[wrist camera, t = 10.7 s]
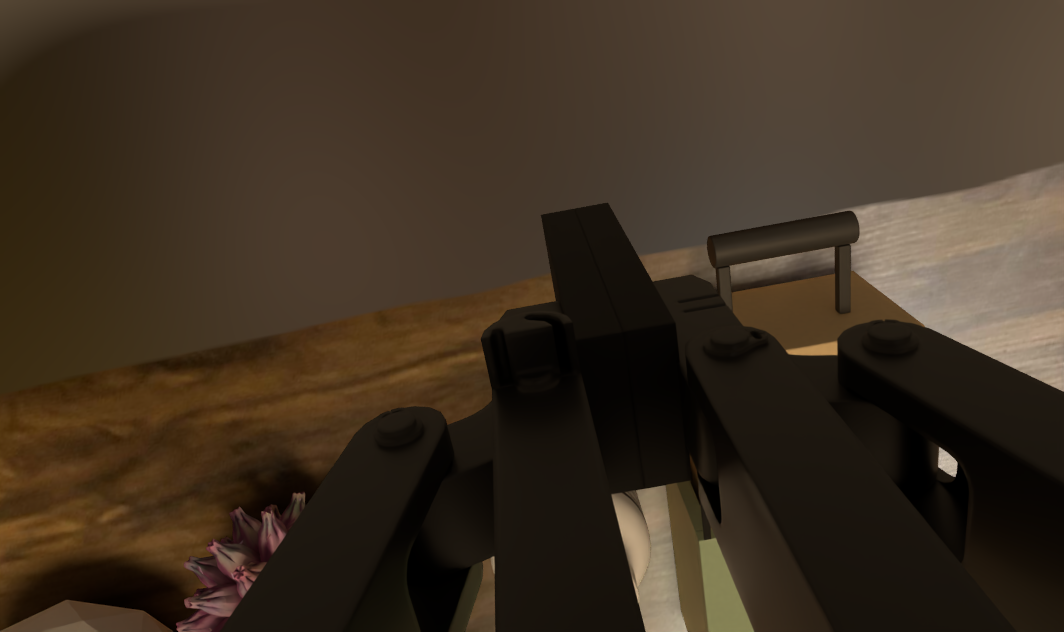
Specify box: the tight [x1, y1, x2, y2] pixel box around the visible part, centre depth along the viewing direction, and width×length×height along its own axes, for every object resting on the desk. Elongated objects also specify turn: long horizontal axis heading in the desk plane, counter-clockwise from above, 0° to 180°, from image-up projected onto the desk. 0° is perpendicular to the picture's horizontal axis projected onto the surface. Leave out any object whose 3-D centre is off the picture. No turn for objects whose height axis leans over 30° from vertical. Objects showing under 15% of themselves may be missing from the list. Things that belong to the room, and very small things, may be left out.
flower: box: [176, 492, 306, 632], centre depth 44 cm, size 12×12×12 cm
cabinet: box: [666, 481, 754, 632], centre depth 46 cm, size 15×13×10 cm
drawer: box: [689, 211, 925, 529], centre depth 41 cm, size 19×11×8 cm, turn 10°
